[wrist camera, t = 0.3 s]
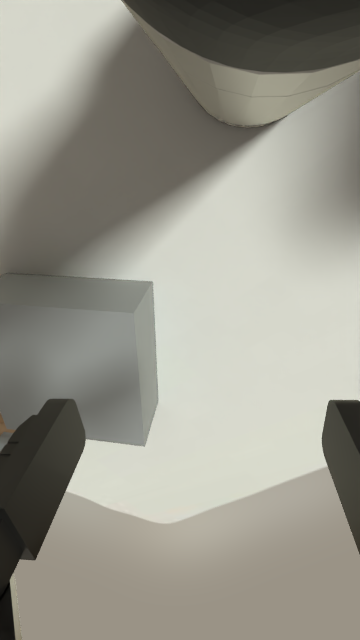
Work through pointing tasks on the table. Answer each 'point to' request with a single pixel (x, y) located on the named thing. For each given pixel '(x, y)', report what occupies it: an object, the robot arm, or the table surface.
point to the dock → (79, 352)
